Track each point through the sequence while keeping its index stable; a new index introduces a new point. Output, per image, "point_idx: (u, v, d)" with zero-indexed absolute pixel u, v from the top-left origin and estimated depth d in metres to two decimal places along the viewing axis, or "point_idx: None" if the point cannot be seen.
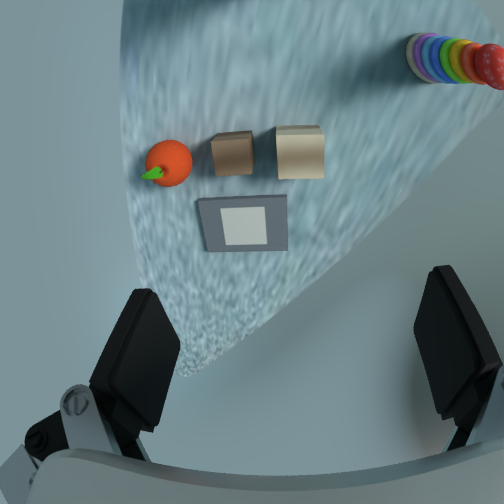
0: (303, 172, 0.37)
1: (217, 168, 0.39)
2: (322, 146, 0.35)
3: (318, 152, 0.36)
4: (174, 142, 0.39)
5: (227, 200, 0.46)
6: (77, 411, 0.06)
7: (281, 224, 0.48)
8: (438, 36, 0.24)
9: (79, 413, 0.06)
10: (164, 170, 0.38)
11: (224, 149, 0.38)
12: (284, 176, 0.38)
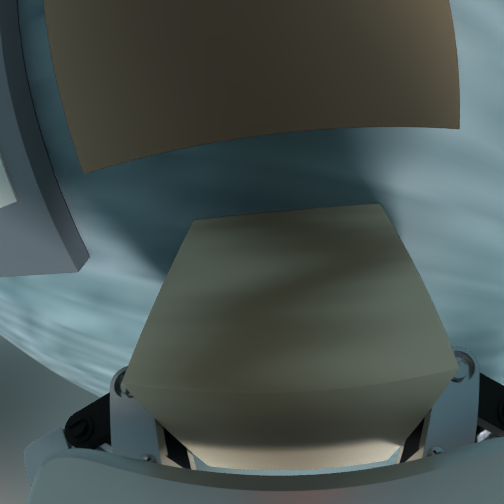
0: (213, 447, 0.06)
1: None
2: (341, 465, 0.07)
3: (315, 464, 0.07)
4: None
5: None
6: (128, 393, 0.07)
7: (7, 261, 0.10)
8: None
9: (130, 395, 0.06)
10: None
11: None
12: (155, 406, 0.05)
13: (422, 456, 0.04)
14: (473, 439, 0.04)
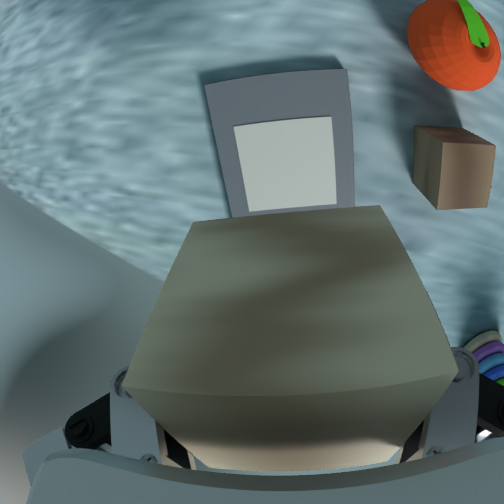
0: (213, 448, 0.06)
1: (455, 149, 0.15)
2: (341, 466, 0.07)
3: (315, 465, 0.07)
4: None
5: (350, 133, 0.20)
6: (128, 393, 0.07)
7: None
8: None
9: (130, 395, 0.06)
10: (476, 48, 0.10)
11: (481, 167, 0.16)
12: (156, 408, 0.05)
13: (422, 456, 0.04)
14: (473, 439, 0.04)
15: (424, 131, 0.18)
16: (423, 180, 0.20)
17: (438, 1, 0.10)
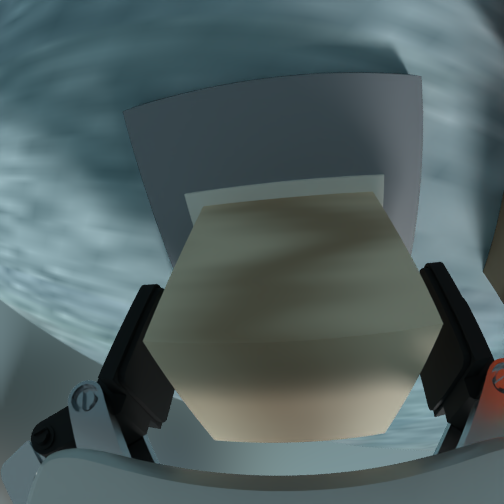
0: (221, 413, 0.07)
1: None
2: (341, 437, 0.08)
3: (317, 434, 0.08)
4: None
5: (414, 206, 0.10)
6: (85, 407, 0.06)
7: None
8: None
9: (87, 409, 0.06)
10: None
11: None
12: (172, 365, 0.06)
13: None
14: None
15: None
16: None
17: None
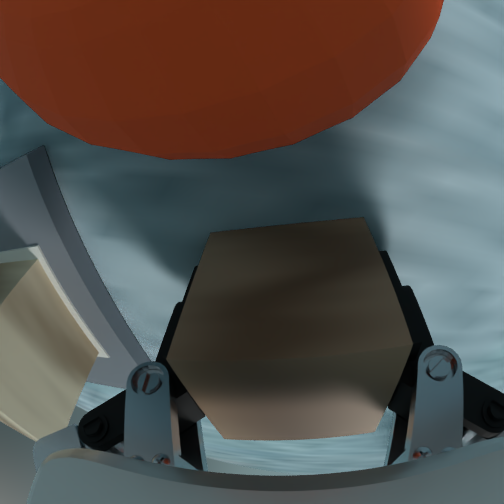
0: None
1: (222, 372, 0.06)
2: (33, 439, 0.09)
3: (16, 429, 0.08)
4: None
5: (73, 269, 0.10)
6: (145, 389, 0.07)
7: (90, 376, 0.15)
8: None
9: (147, 392, 0.07)
10: None
11: (344, 394, 0.06)
12: None
13: (408, 457, 0.04)
14: (453, 439, 0.04)
15: (200, 268, 0.08)
16: None
17: None
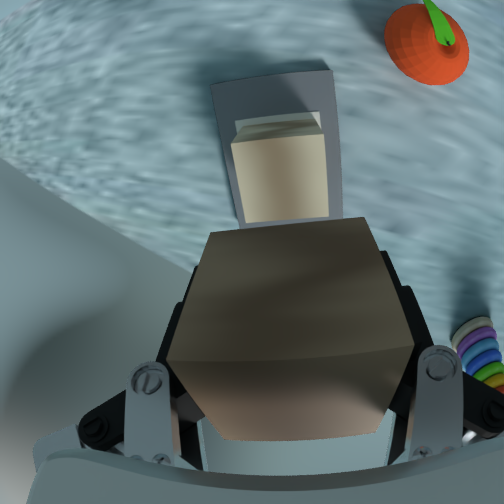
0: (252, 188, 0.20)
1: (222, 373, 0.06)
2: (306, 215, 0.21)
3: (294, 209, 0.21)
4: None
5: (336, 125, 0.22)
6: (145, 389, 0.07)
7: None
8: (498, 349, 0.31)
9: (147, 392, 0.07)
10: (442, 46, 0.13)
11: (345, 395, 0.06)
12: (238, 155, 0.19)
13: (408, 457, 0.04)
14: (453, 439, 0.04)
15: (200, 268, 0.08)
16: None
17: (410, 7, 0.13)
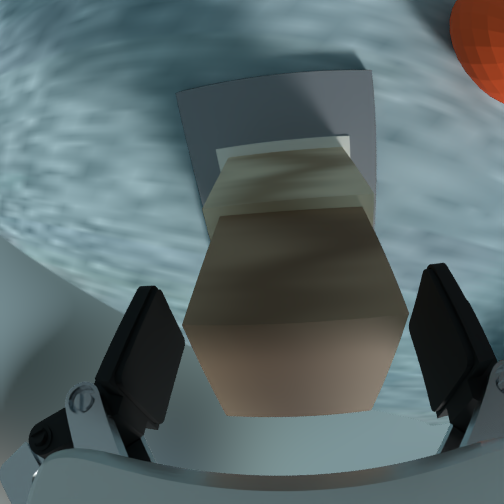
0: None
1: (235, 338, 0.07)
2: None
3: None
4: None
5: (373, 158, 0.15)
6: (82, 408, 0.06)
7: None
8: None
9: (84, 411, 0.06)
10: None
11: (345, 364, 0.07)
12: None
13: None
14: None
15: (211, 247, 0.09)
16: None
17: None
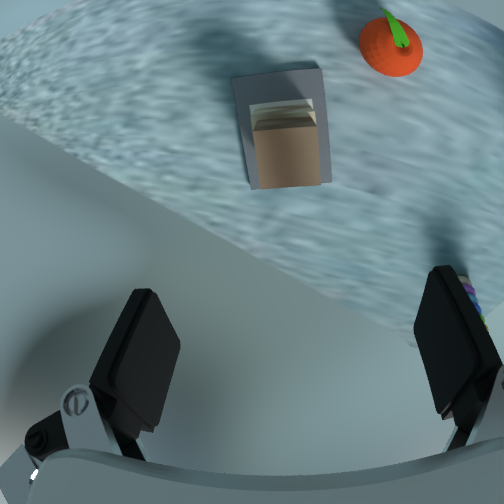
0: None
1: (267, 135, 0.22)
2: None
3: None
4: None
5: (324, 108, 0.30)
6: (77, 411, 0.06)
7: None
8: (478, 305, 0.39)
9: (79, 413, 0.06)
10: (400, 48, 0.20)
11: (302, 148, 0.22)
12: None
13: None
14: None
15: (256, 124, 0.24)
16: None
17: (377, 20, 0.20)
